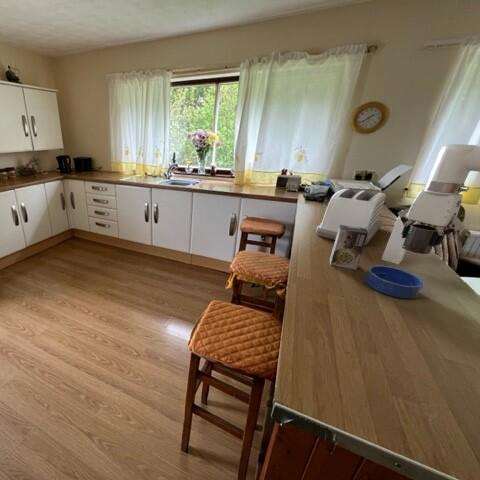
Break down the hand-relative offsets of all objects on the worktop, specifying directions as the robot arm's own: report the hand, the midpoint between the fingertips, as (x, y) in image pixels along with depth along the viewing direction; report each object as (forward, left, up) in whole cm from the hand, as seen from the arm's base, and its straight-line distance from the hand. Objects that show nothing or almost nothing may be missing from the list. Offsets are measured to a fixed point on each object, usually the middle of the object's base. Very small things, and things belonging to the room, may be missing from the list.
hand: (419, 241), depth 84 cm
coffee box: (+19, +2, -18) cm, 26 cm away
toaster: (+43, -42, -18) cm, 63 cm away
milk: (+13, -22, -18) cm, 32 cm away
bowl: (+1, +4, -18) cm, 18 cm away
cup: (0, 0, -3) cm, 3 cm away
